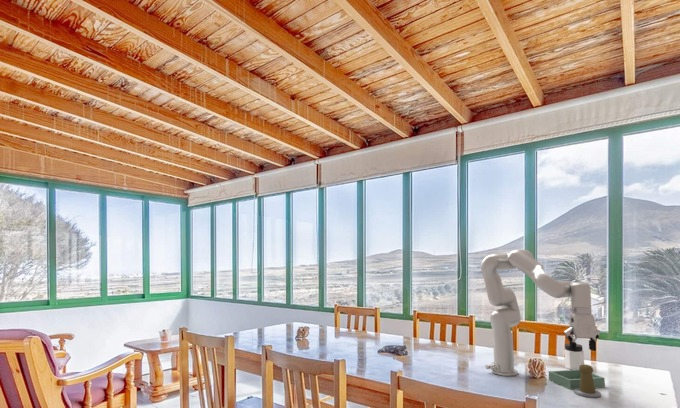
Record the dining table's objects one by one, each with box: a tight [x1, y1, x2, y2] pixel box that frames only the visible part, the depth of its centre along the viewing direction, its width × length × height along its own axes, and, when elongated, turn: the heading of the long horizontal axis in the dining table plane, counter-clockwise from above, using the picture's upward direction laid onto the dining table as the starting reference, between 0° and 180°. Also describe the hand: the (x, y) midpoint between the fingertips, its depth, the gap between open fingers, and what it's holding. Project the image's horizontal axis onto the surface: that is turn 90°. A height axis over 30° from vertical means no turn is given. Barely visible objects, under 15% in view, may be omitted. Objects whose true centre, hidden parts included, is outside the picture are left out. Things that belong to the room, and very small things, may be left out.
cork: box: [579, 363, 596, 394], centre depth 179 cm, size 6×6×11 cm
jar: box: [563, 342, 585, 370], centre depth 218 cm, size 9×8×12 cm
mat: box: [573, 388, 602, 399], centre depth 178 cm, size 10×10×1 cm
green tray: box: [548, 369, 606, 390], centre depth 192 cm, size 18×14×4 cm
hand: (582, 350), depth 180 cm, fingers open, 9 cm apart
